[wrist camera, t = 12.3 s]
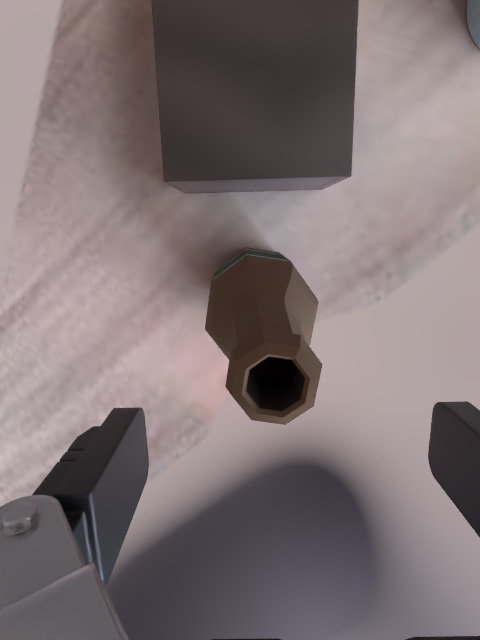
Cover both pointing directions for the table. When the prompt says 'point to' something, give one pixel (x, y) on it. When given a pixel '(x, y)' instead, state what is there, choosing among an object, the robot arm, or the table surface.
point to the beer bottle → (265, 334)
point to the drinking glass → (474, 20)
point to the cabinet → (255, 93)
